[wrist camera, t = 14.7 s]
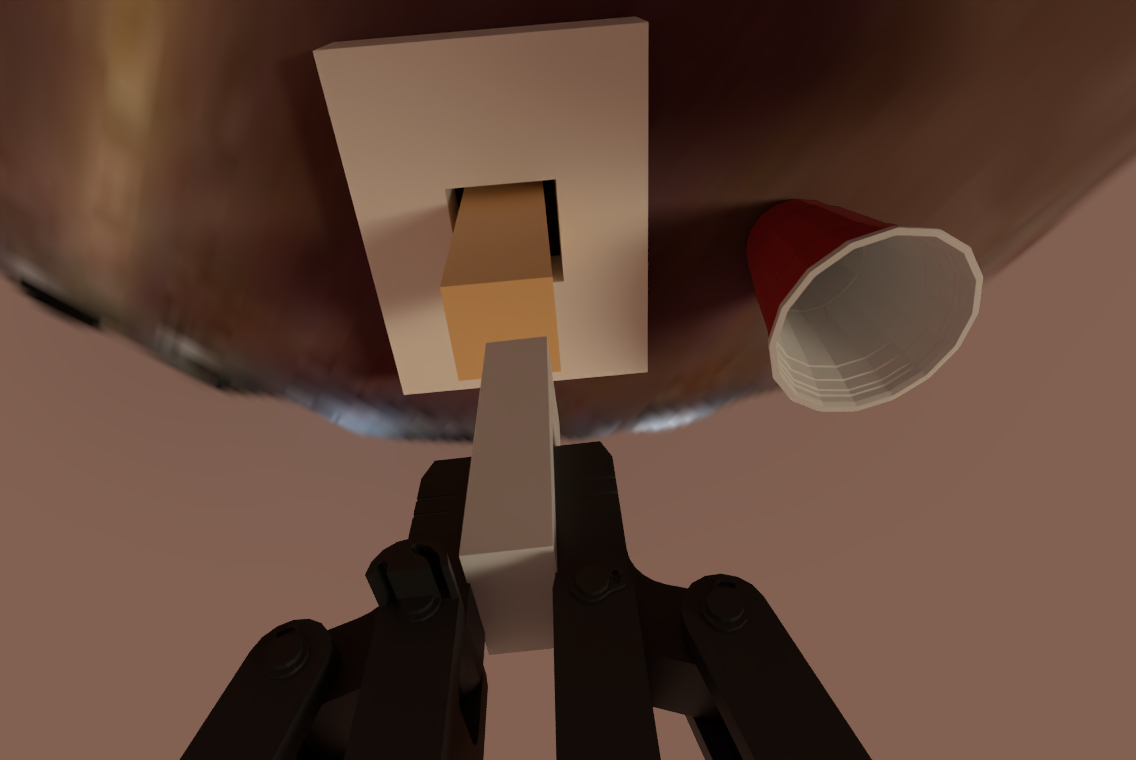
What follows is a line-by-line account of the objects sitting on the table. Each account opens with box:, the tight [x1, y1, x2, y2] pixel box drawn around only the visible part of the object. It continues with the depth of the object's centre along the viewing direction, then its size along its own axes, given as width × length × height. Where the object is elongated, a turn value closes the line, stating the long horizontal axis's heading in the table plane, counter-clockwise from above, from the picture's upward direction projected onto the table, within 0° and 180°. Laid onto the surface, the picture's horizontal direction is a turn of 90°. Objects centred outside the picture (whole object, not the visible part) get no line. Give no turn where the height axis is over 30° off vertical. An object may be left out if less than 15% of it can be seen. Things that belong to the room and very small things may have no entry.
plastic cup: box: [746, 199, 983, 412], centre depth 36 cm, size 11×11×12 cm
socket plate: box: [313, 16, 649, 395], centre depth 37 cm, size 16×20×4 cm
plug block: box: [440, 180, 561, 381], centre depth 32 cm, size 4×4×15 cm
